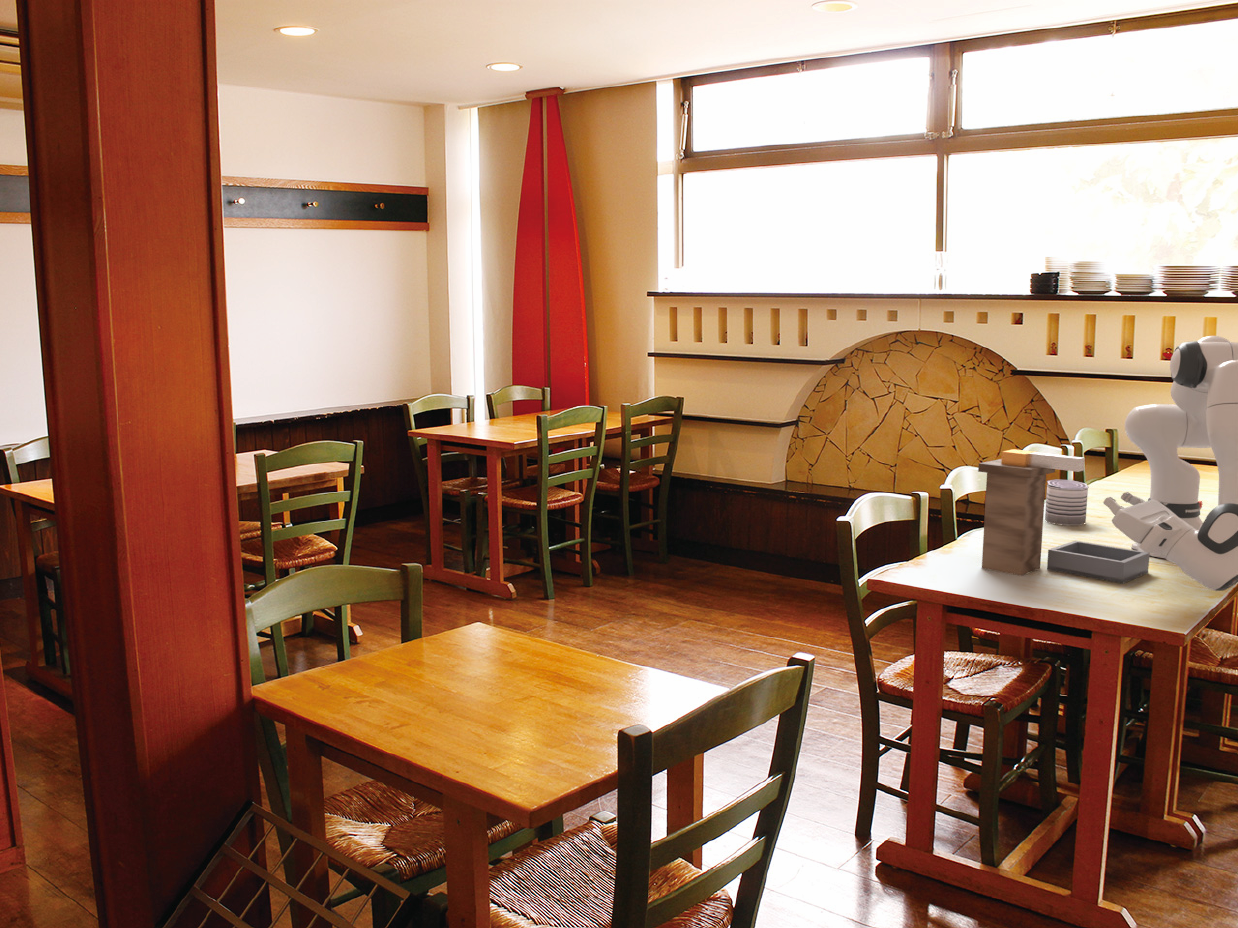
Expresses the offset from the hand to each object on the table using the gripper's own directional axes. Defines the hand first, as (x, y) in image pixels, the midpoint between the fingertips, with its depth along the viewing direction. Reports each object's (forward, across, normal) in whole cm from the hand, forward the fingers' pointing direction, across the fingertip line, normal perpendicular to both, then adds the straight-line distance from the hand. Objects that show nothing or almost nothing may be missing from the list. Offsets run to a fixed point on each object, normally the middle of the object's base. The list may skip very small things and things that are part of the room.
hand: (1114, 496), depth 239 cm
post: (+10, 0, +30) cm, 31 cm away
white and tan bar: (+17, 0, +4) cm, 18 cm away
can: (+24, -66, +38) cm, 80 cm away
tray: (-4, -13, +22) cm, 26 cm away
